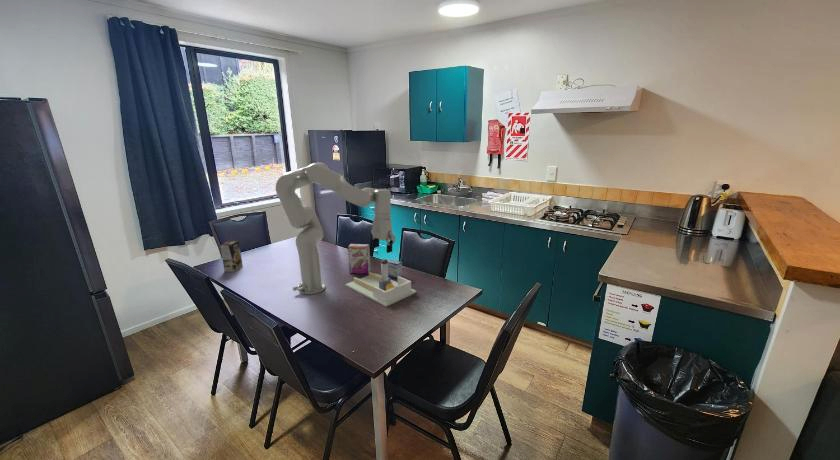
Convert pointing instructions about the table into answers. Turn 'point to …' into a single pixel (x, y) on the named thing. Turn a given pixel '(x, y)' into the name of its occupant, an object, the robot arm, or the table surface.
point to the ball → (389, 286)
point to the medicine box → (394, 268)
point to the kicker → (384, 275)
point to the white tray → (371, 289)
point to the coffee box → (231, 256)
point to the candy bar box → (359, 258)
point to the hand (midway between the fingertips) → (382, 249)
